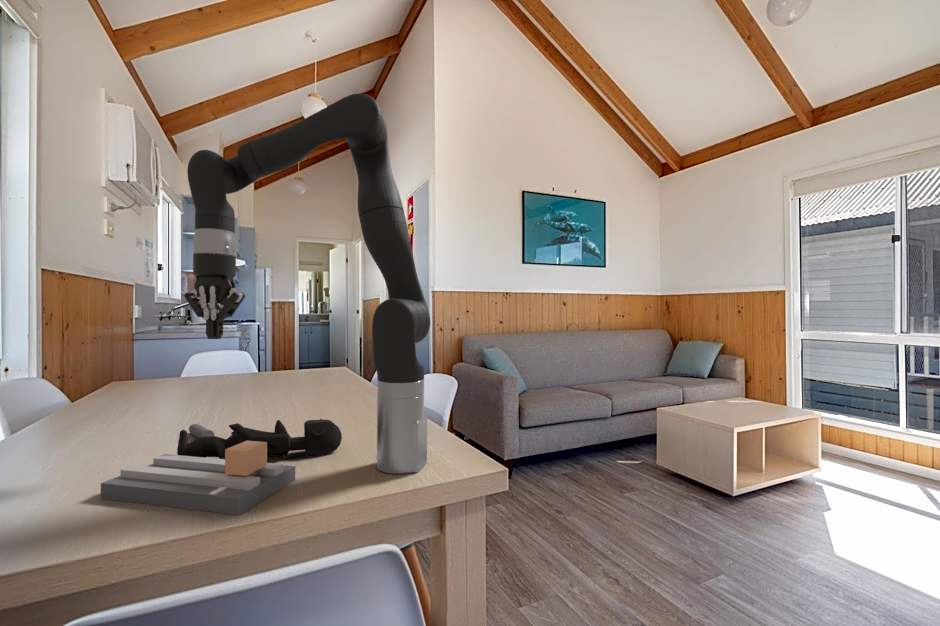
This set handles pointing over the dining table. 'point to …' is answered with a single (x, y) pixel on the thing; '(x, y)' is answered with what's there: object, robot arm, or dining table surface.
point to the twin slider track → (196, 484)
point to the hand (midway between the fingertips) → (214, 338)
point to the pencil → (200, 431)
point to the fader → (246, 458)
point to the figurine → (268, 441)
